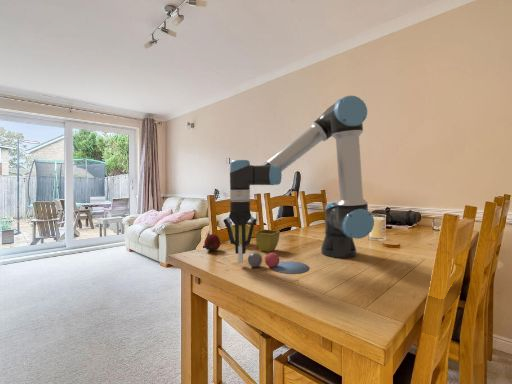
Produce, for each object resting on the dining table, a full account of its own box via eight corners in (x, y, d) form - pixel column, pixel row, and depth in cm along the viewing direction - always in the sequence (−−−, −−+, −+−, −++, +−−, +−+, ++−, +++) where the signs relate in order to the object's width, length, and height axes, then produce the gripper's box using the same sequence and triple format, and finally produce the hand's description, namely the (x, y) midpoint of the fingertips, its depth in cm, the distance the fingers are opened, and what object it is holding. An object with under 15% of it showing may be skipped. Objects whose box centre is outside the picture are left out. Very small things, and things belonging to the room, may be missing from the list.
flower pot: (280, 249, 127) (280, 230, 127) (271, 253, 120) (271, 234, 119) (264, 247, 132) (264, 229, 131) (254, 251, 124) (254, 232, 124)
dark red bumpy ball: (223, 249, 128) (222, 232, 128) (216, 253, 121) (216, 236, 120) (208, 248, 130) (208, 232, 130) (201, 252, 123) (201, 235, 122)
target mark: (306, 261, 108) (306, 261, 108) (311, 274, 94) (311, 273, 94) (271, 261, 109) (271, 260, 109) (271, 273, 95) (271, 272, 95)
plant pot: (232, 241, 143) (232, 223, 143) (251, 242, 142) (251, 224, 142) (228, 246, 133) (228, 227, 133) (249, 247, 132) (249, 227, 131)
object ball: (275, 266, 104) (281, 254, 104) (276, 271, 99) (281, 258, 99) (263, 261, 105) (268, 248, 104) (262, 265, 99) (268, 252, 99)
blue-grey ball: (245, 255, 105) (253, 267, 105) (244, 259, 99) (252, 271, 99) (257, 248, 104) (265, 259, 104) (256, 252, 99) (264, 264, 99)
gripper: (221, 201, 98) (222, 264, 99) (256, 201, 97) (257, 265, 98) (224, 200, 105) (225, 258, 106) (257, 200, 105) (258, 259, 106)
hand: (240, 261), depth 102 cm, fingers closed
